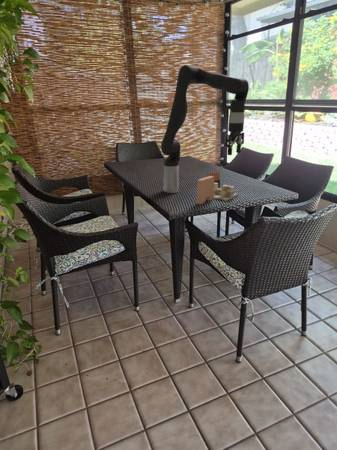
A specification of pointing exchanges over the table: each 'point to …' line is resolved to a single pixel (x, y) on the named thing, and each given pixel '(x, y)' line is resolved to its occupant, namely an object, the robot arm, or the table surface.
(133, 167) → the table surface
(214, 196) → the ash slotted base
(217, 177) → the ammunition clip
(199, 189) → the terracotta slotted plate
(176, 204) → the table surface
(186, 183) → the table surface
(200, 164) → the table surface
